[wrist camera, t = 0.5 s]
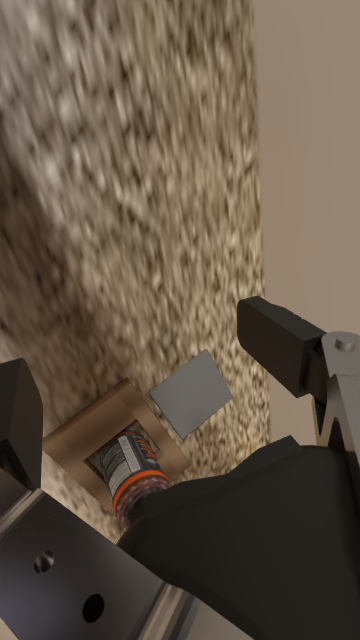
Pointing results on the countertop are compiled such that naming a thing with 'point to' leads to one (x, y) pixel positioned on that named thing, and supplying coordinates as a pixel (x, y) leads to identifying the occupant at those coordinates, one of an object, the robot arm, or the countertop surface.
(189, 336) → the countertop surface
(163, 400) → the rubber mat
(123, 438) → the supplement bottle
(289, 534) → the robot arm
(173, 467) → the walnut holder
